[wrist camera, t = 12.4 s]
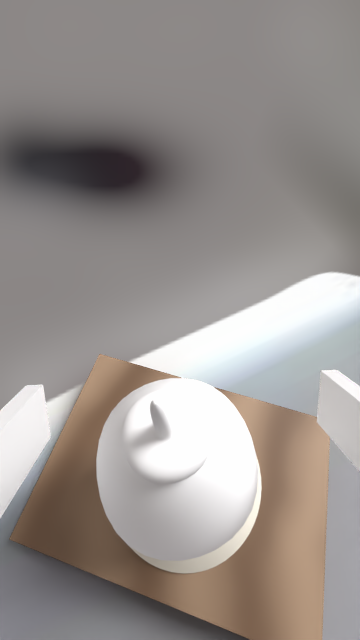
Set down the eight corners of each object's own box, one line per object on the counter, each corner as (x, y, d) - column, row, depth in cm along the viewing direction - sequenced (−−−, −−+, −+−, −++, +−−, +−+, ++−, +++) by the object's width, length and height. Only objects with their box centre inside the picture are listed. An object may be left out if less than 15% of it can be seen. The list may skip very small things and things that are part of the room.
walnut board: (320, 426, 25) (331, 420, 23) (307, 653, 18) (322, 670, 16) (104, 362, 28) (99, 353, 26) (22, 536, 21) (7, 539, 19)
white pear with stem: (138, 558, 19) (-97, 791, 4) (121, 433, 23) (-23, 294, 8) (254, 522, 20) (467, 591, 4) (218, 407, 24) (262, 234, 8)
